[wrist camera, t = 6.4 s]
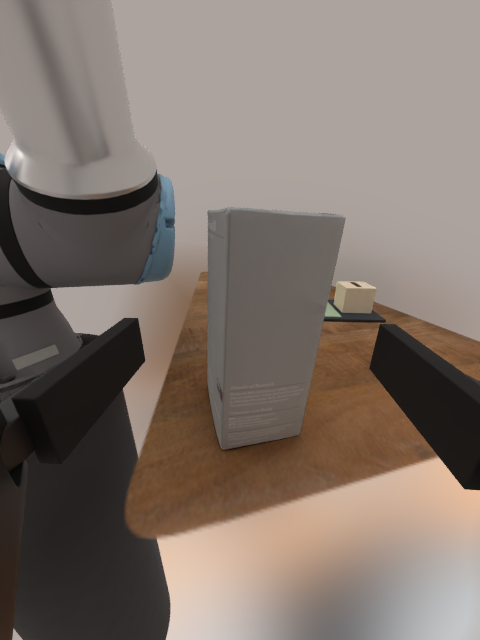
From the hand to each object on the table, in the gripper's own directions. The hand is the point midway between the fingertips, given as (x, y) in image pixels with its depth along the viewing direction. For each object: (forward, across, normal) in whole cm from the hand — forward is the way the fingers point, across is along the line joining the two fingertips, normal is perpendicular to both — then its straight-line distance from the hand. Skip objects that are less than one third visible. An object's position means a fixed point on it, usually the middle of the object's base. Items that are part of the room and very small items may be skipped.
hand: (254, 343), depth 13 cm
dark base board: (+31, +10, -9) cm, 34 cm away
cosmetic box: (+5, 0, -9) cm, 10 cm away
